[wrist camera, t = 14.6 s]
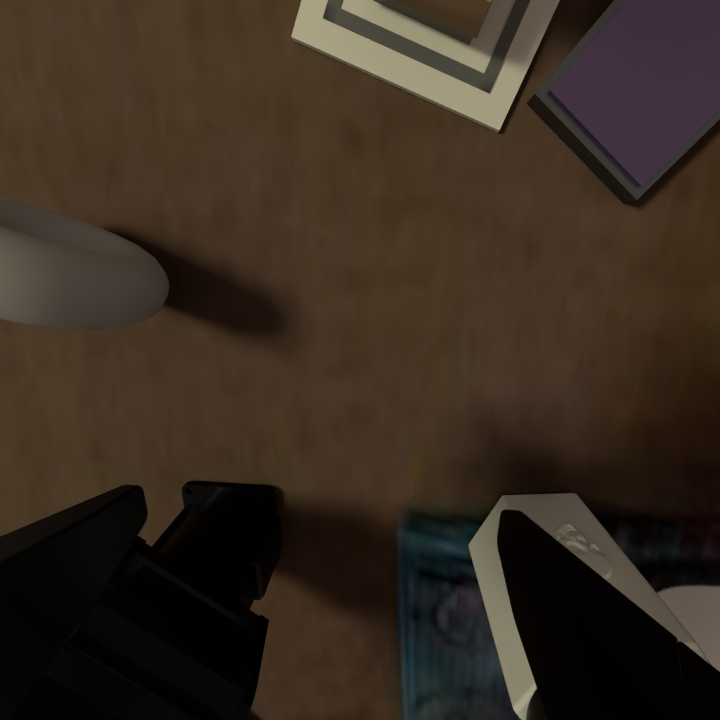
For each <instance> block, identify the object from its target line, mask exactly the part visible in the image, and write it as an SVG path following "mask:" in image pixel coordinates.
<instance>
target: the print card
mask: <svg viewBox="0 0 720 720" xmlns="http://www.w3.org/2000/svg"><path fill="white" fill-rule="evenodd" d="M559 1H560V0H493V1H492V3H491V6H490V8H489V11H488V13H487V15H486V18H485V20H484V22H483V25H482V27H481V29H480V32H479V34H478V37H477V39H476V38H474V37H473V39H472V41H471V43H470V45H468V44H466V43H463V42H461V41H459V40H457V39H455V38H453V37H450V36H448V35H446V34H444V33H442V32H440V31H438V30H435V29H433V28H431V27H429V26H427V25H425V24H423V23H420V22H418V21H416V20H414V19H412V18H410V17H408V16H405V15H403V14H401V13H399V12H397V11H395V10H392V9H390V8H388V7H386V6H384V5H382V4H380V3H377V2H375V1H373V0H302V1H301V5H300V8H299V12H298V15H297V19H296V22H295V26H294V29H293V33H292V36H291V37H292V40H293V41H295V42H297V43H299V44H301V45H304V46H306V47H308V48H310V49H312V50H315V51H317V52H319V53H321V54H324V55H326V56H328V57H330V58H333V59H335V60H337V61H339V62H341V63H344V64H346V65H348V66H350V67H353V68H355V69H357V70H359V71H361V72H364V73H366V74H368V75H370V76H373V77H375V78H377V79H379V80H381V81H384V82H386V83H388V84H390V85H393V86H395V87H397V88H399V89H401V90H404V91H406V92H408V93H410V94H413V95H415V96H417V97H419V98H422V99H424V100H426V101H428V102H430V103H433V104H435V105H437V106H439V107H442V108H444V109H446V110H448V111H450V112H453V113H455V114H457V115H459V116H462V117H464V118H466V119H468V120H470V121H473V122H475V123H477V124H479V125H482V126H484V127H486V128H488V129H491V130H493V131H495V132H497V133H498V132H499V130H500V128H501V126H502V124H503V122H504V120H505V118H506V115H507V113H508V111H509V109H510V107H511V105H512V102H513V100H514V98H515V96H516V94H517V92H518V90H519V87H520V85H521V83H522V81H523V79H524V77H525V74H526V72H527V70H528V68H529V66H530V64H531V61H532V59H533V57H534V55H535V53H536V51H537V49H538V46H539V44H540V42H541V40H542V38H543V36H544V33H545V31H546V29H547V27H548V25H549V23H550V21H551V18H552V16H553V14H554V12H555V10H556V8H557V5H558V3H559Z"/></svg>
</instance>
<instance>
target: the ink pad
mask: <svg viewBox="0 0 720 720" xmlns="http://www.w3.org/2000/svg"><path fill="white" fill-rule="evenodd" d="M527 104H528V105H529V106H530V107H531V108H532V109H533V110H534V111H535V112H536V113H537V115H538V116H539V117H540V118H541V119H542V120H543V121H544V122H545V123H546V124H547V125H548V126H549V127H550V128H551V129H552V130H553V131H554V132H555V133H556V134H557V135H558V136H559V137H560V138H561V139H562V140H563V141H564V142H565V143H566V145H567V146H568V147H569V148H570V149H571V150H572V151H573V152H574V153H575V154H576V155H577V156H578V157H579V158H580V159H581V160H582V161H583V162H584V163H585V164H586V165H587V166H588V167H589V168H590V169H591V170H592V171H593V172H594V173H595V175H596V176H597V177H598V178H599V179H600V180H601V181H602V182H603V183H604V184H605V185H606V186H607V187H608V188H609V189H610V190H611V191H612V192H613V193H614V194H615V195H616V196H617V197H618V198H619V199H620V200H621V201H622V202H623V203H628V202H632V201H635V200H638V199H639V198H640V197H641V196H642V195H643V194H644V193H645V192H646V191H647V190H648V189H649V188H650V187H651V186H652V185H653V184H654V183H655V182H656V181H657V180H658V179H659V178H660V177H661V176H662V175H663V174H664V173H665V172H666V171H667V170H668V169H669V168H670V167H671V166H672V165H673V164H674V163H675V162H676V161H677V160H678V159H679V158H681V157H682V156H683V155H684V154H685V153H686V152H687V151H688V150H689V149H690V148H691V147H692V146H693V145H694V144H695V143H696V142H697V141H698V140H699V139H700V138H701V137H702V136H703V135H704V134H705V133H706V132H707V131H708V130H709V129H710V128H711V127H712V126H713V125H714V124H715V123H716V122H717V121H718V120H719V119H720V0H614V1H613V2H612V4H611V5H610V6H609V7H608V8H607V9H606V11H605V12H604V13H603V14H602V15H601V16H600V18H599V19H598V20H597V21H596V22H595V24H594V25H593V26H592V27H591V28H590V29H589V31H588V32H587V33H586V34H585V35H584V36H583V38H582V39H581V40H580V41H579V42H578V44H577V45H576V46H575V47H574V48H573V49H572V51H571V52H570V53H569V54H568V55H567V56H566V58H565V59H564V60H563V61H562V62H561V64H560V65H559V66H558V67H557V68H556V69H555V71H554V72H553V73H552V74H551V75H550V76H549V78H548V79H547V80H546V81H545V82H544V84H543V85H542V86H541V87H540V88H539V89H538V91H537V92H536V93H535V94H534V95H533V96H532V98H531V99H530V100H529V101H528V102H527Z"/></svg>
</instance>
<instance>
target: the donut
mask: <svg viewBox="0 0 720 720" xmlns="http://www.w3.org/2000/svg"><path fill="white" fill-rule="evenodd" d="M168 293H169V281H168V277H167V274H166V273H165V271H164V270H163V268H162V267H161V265H160V264H159V263H158V261H157V260H156V258H154V257H153V256H152V255H151V254H149V253H148V252H147V251H145V250H144V249H142V248H141V247H139V246H138V245H136V244H135V243H133V242H131V241H128V240H126V239H124V238H122V237H120V236H118V235H116V234H114V233H111V232H109V231H106V230H104V229H101V228H99V227H97V226H94V225H91V224H88V223H86V222H83V221H80V220H77V219H74V218H72V217H69V216H66V215H63V214H59V213H56V212H53V211H50V210H46V209H43V208H40V207H37V206H33V205H29V204H26V203H22V202H18V201H14V200H11V199H7V198H3V197H0V319H4V320H8V321H13V322H17V323H23V324H31V325H38V326H46V327H54V328H65V329H108V328H118V327H127V326H131V325H133V324H136V323H138V322H141V321H143V320H146V319H148V318H151V317H153V316H154V315H155V314H156V313H157V312H159V311H160V310H161V308H162V306H163V304H164V302H165V300H166V297H167V295H168Z"/></svg>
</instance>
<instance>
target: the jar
mask: <svg viewBox="0 0 720 720" xmlns="http://www.w3.org/2000/svg"><path fill="white" fill-rule="evenodd" d="M504 509H507V510H519V511H521V512H523V513H524V514H525V515H527V516H528V517H529V518H530V519H531V520H533V521H534V522H535V523H536V524H538V525H539V526H540V527H541V528H543V529H544V530H545V531H546V532H547V533H549V534H550V535H551V536H552V537H554V538H555V539H556V540H557V541H559V542H560V543H561V544H562V545H563V546H565V547H566V548H567V549H568V550H570V551H571V552H572V553H573V554H575V555H576V556H577V557H578V558H579V559H581V560H582V561H583V562H584V563H586V564H587V565H588V566H589V567H591V568H592V569H593V570H594V571H596V572H597V573H598V574H599V575H600V576H602V577H603V578H604V579H605V580H607V581H608V582H609V583H610V584H612V585H613V586H614V587H615V588H616V589H618V590H619V591H620V592H621V593H623V594H624V595H625V596H626V597H628V598H629V599H630V600H631V601H632V602H634V603H635V604H636V605H637V606H639V607H640V608H641V609H642V610H644V611H645V612H646V613H647V614H648V615H650V616H651V617H652V618H653V619H655V620H656V621H657V622H658V623H660V624H661V625H662V626H663V627H664V628H666V629H667V630H668V631H669V632H671V633H672V634H673V635H674V636H676V638H677V639H678V642H679V641H681V642H683V643H684V644H686V645H687V646H688V647H689V648H691V649H692V650H693V651H694V652H696V653H697V654H698V655H699V656H700V657H702V658H703V659H704V660H705V661H707V662H708V663H709V661H708V660H707V658H706V656H705V655H704V653H703V652H702V650H701V649H700V647H699V646H698V644H697V643H696V642H695V640H694V639H693V638H692V636H691V635H690V634H689V633H688V631H687V630H686V629H685V628H684V627H683V625H682V624H681V623H680V622H679V620H678V619H677V618H676V617H675V616H674V614H673V613H672V612H671V611H670V609H669V608H668V607H667V605H666V604H665V603H664V602H663V600H662V599H661V598H660V597H659V596H658V594H657V593H656V592H655V591H654V589H653V588H652V587H651V586H650V584H649V583H648V582H647V581H646V579H645V578H644V577H643V576H642V574H641V573H640V572H639V571H638V569H637V568H636V567H635V566H634V564H633V563H632V562H631V561H630V559H629V558H628V557H627V556H626V555H625V553H624V552H623V551H622V550H621V548H620V547H619V546H618V545H617V543H616V542H615V541H614V540H613V538H612V537H611V536H610V535H609V533H608V532H607V531H606V530H605V528H604V527H603V526H602V525H601V523H600V522H599V521H598V520H597V519H596V517H595V516H594V515H593V514H592V512H591V511H590V510H589V509H588V507H587V506H586V505H585V504H584V502H583V501H582V500H581V499H580V497H579V496H578V495H577V494H575V493H557V494H526V495H503V496H501V498H500V499H499V501H498V502H497V504H496V505H495V507H494V508H493V510H492V511H491V512H490V514H489V515H488V517H487V518H486V520H485V521H484V523H483V524H482V526H481V527H480V529H479V530H478V531H477V533H476V534H475V536H474V537H473V539H472V540H471V542H470V543H469V550H470V554H471V558H472V561H473V565H474V569H475V572H476V576H477V580H478V583H479V587H480V590H481V594H482V598H483V601H484V605H485V609H486V612H487V616H488V620H489V623H490V627H491V631H492V634H493V638H494V642H495V645H496V649H497V653H498V656H499V660H500V663H501V667H502V671H503V674H504V678H505V682H506V685H507V689H508V693H509V696H510V700H511V704H512V707H513V710H514V711H515V713H516V714H517V715H518V716H519V718H520V719H521V720H548V719H547V717H546V714H545V711H544V708H543V705H542V702H541V699H540V696H539V693H538V690H537V687H536V684H535V681H534V678H533V675H532V672H531V669H530V666H529V663H528V660H527V657H526V654H525V651H524V648H523V645H522V642H521V639H520V636H519V633H518V630H517V627H516V624H515V620H514V617H513V613H512V609H511V605H510V600H509V596H508V592H507V587H506V583H505V578H504V574H503V570H502V565H501V561H500V557H499V552H498V547H497V534H498V527H499V520H500V514H501V511H502V510H504ZM709 664H710V663H709ZM710 665H711V664H710Z"/></svg>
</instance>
